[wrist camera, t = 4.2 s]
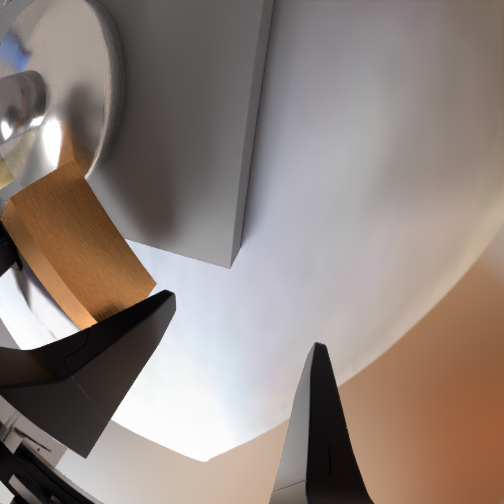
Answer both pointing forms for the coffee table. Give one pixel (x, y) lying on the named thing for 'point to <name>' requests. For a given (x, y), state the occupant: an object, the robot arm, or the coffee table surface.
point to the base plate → (180, 122)
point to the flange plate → (66, 155)
